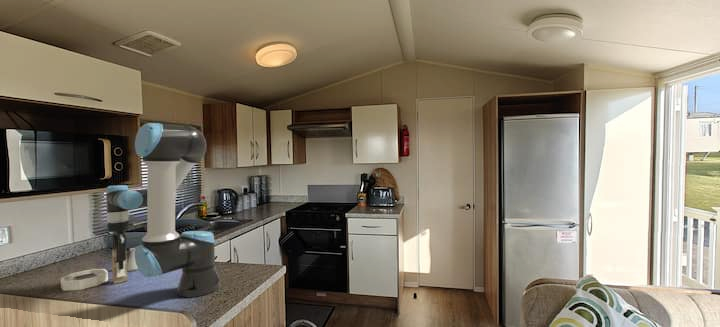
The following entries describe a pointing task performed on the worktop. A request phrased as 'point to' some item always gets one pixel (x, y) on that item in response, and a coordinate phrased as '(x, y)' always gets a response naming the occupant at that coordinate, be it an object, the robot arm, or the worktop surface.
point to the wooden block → (115, 278)
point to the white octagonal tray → (84, 279)
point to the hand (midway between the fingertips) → (119, 275)
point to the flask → (132, 261)
